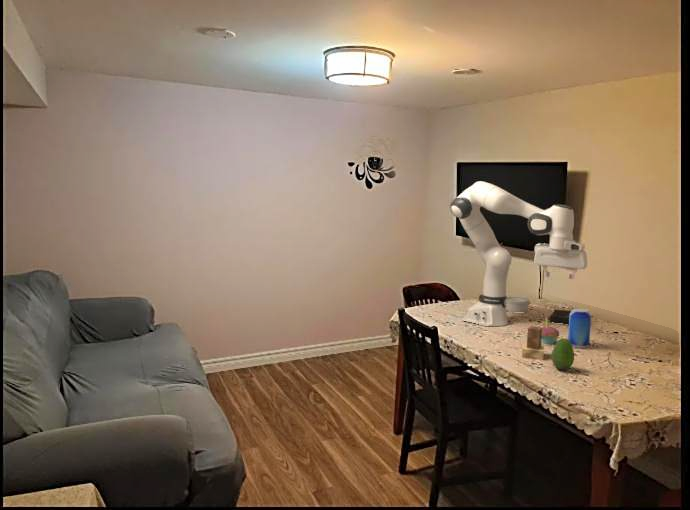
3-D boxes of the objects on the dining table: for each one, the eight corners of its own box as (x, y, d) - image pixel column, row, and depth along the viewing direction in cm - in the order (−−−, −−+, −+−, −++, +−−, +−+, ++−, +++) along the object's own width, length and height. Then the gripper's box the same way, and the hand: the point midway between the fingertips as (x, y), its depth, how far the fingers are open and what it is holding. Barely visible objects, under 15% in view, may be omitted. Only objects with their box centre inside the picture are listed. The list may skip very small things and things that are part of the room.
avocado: (577, 371, 197) (579, 340, 195) (560, 373, 195) (562, 342, 193) (563, 364, 204) (565, 334, 203) (546, 366, 202) (547, 336, 200)
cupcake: (549, 346, 227) (550, 319, 225) (533, 341, 234) (535, 315, 233) (562, 343, 231) (564, 317, 229) (547, 338, 238) (548, 312, 237)
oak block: (521, 358, 213) (522, 349, 212) (522, 352, 220) (523, 343, 219) (543, 360, 210) (543, 351, 209) (543, 354, 217) (543, 345, 217)
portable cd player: (586, 328, 257) (587, 320, 257) (549, 323, 266) (550, 315, 265) (590, 320, 271) (590, 313, 271) (554, 316, 280) (555, 309, 279)
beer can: (588, 344, 230) (590, 308, 228) (590, 349, 222) (592, 312, 220) (567, 342, 233) (569, 307, 231) (568, 347, 225) (570, 311, 223)
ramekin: (532, 314, 283) (533, 301, 282) (507, 314, 283) (508, 301, 282) (524, 308, 296) (525, 296, 295) (501, 308, 297) (501, 296, 296)
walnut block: (526, 347, 214) (527, 328, 213) (529, 344, 217) (531, 325, 216) (538, 349, 211) (539, 330, 210) (541, 346, 215) (542, 327, 214)
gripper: (532, 243, 218) (531, 276, 220) (586, 246, 207) (584, 281, 209) (536, 242, 224) (535, 274, 225) (589, 245, 213) (587, 278, 214)
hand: (559, 277), depth 217 cm, fingers open, 8 cm apart
